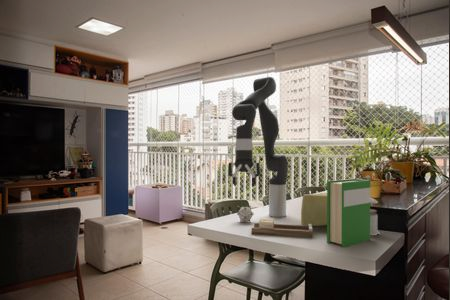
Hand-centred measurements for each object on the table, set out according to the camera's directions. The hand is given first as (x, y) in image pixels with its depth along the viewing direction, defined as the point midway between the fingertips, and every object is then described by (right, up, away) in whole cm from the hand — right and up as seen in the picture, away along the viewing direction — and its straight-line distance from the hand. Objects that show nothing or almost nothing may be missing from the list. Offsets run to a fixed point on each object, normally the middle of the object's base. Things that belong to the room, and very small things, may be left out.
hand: (244, 185), depth 141 cm
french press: (+54, -20, -2) cm, 58 cm away
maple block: (+10, -19, -2) cm, 21 cm away
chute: (+16, -20, -4) cm, 26 cm away
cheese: (+38, -20, +12) cm, 45 cm away
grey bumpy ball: (+2, -20, +17) cm, 26 cm away
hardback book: (+41, -20, -16) cm, 48 cm away
